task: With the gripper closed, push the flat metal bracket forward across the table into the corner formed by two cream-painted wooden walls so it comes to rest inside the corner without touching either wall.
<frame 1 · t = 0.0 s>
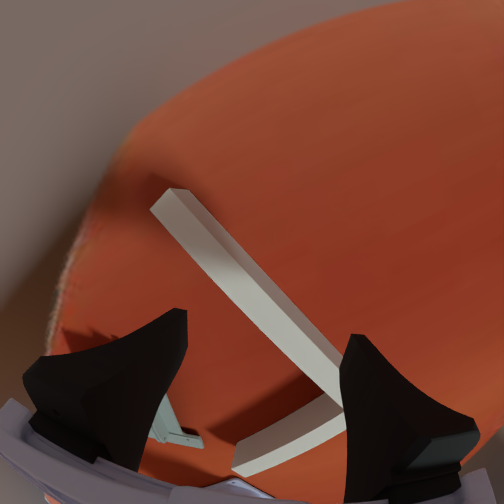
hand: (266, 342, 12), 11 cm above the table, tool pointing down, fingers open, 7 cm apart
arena: (171, 369, 25), on the table
metal bracket: (136, 394, 27), on the table
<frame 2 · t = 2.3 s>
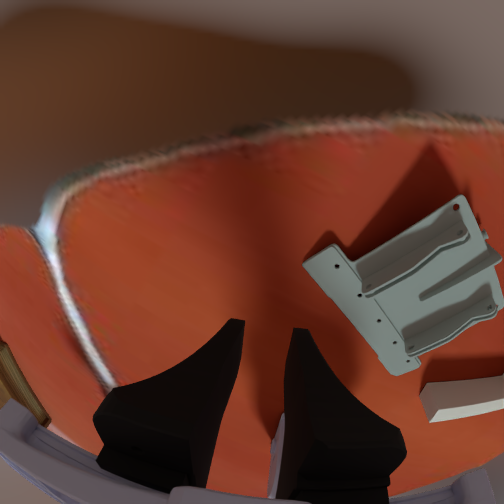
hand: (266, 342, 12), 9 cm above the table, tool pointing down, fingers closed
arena: (485, 290, 19), on the table
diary: (2, 368, 37), on the table
metal bracket: (415, 280, 21), on the table
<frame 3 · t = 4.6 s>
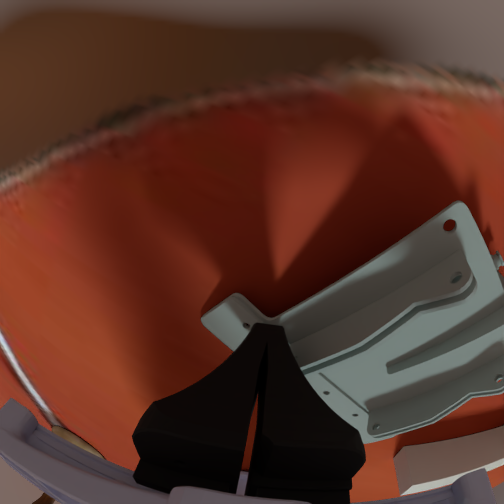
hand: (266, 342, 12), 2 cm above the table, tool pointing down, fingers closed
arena: (494, 338, 12), on the table
hand bell: (80, 446, 24), on the table
metal bracket: (386, 333, 14), on the table, touching gripper
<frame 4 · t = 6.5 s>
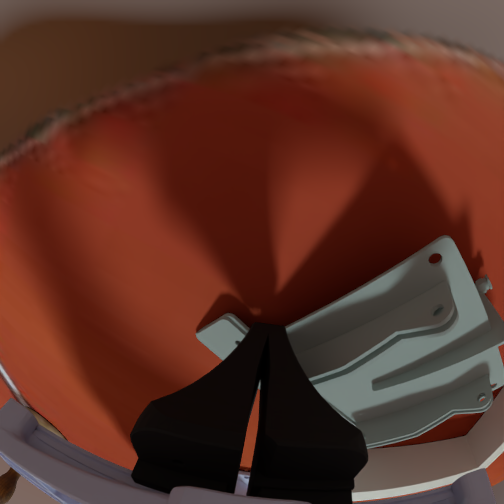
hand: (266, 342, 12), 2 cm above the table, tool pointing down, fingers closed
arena: (425, 337, 13), on the table
hand bell: (46, 427, 24), on the table
metal bracket: (373, 350, 14), on the table
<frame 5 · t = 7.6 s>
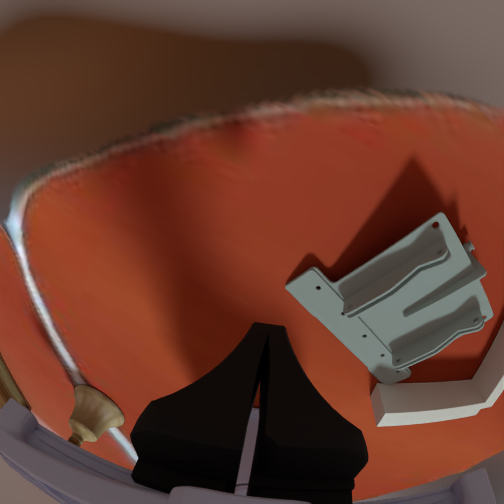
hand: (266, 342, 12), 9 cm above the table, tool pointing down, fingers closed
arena: (438, 283, 20), on the table
hand bell: (99, 404, 31), on the table
metal bracket: (400, 295, 21), on the table
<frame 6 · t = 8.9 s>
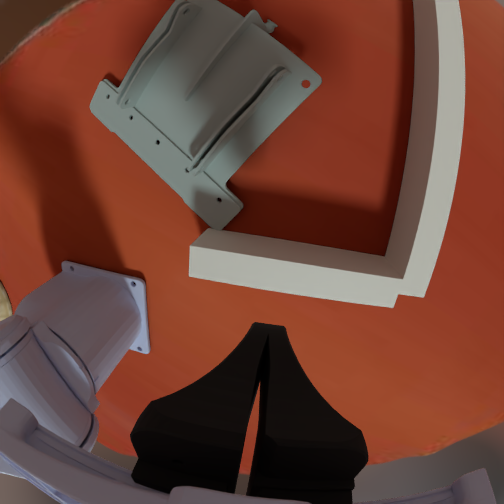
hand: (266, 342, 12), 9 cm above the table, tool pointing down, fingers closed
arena: (254, 76, 16), on the table
metal bracket: (203, 98, 18), on the table
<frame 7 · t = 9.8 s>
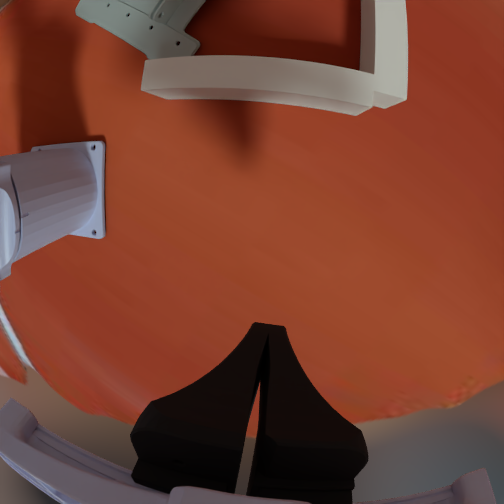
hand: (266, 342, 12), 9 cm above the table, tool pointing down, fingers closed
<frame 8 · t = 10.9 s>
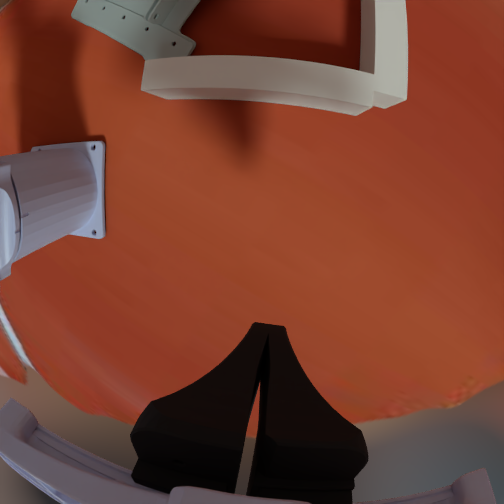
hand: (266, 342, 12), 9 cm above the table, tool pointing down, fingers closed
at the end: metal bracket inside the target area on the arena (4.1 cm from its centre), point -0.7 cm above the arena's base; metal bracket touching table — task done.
